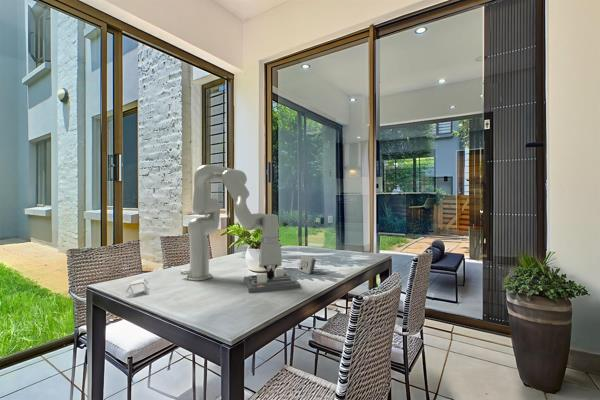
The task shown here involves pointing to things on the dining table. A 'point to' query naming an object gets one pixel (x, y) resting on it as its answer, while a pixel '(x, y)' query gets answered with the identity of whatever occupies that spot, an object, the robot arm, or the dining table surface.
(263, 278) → the tab front
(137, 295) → the dining table surface
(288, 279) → the switch panel
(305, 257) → the electrical switch
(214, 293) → the dining table surface
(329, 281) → the dining table surface
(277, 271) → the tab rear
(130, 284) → the origami figure
